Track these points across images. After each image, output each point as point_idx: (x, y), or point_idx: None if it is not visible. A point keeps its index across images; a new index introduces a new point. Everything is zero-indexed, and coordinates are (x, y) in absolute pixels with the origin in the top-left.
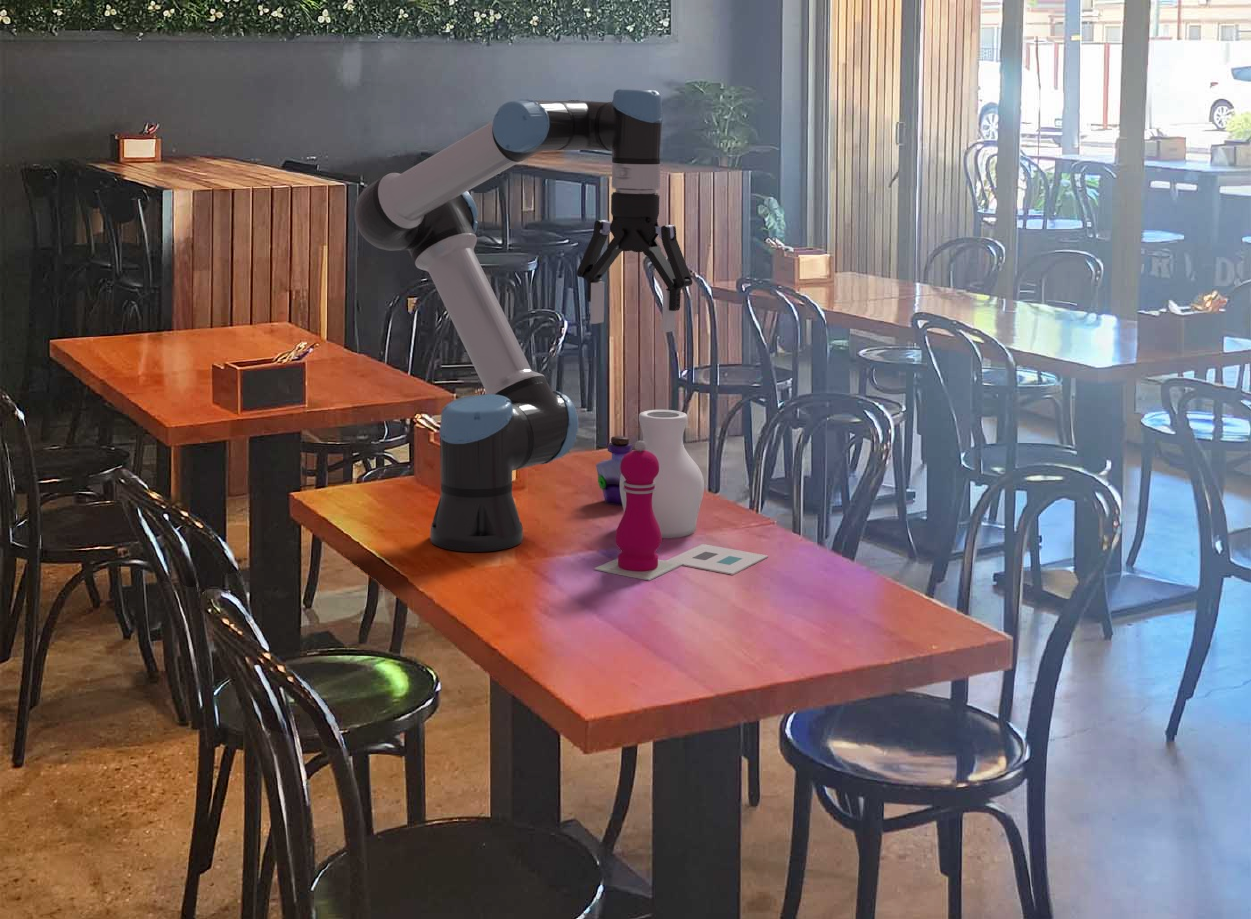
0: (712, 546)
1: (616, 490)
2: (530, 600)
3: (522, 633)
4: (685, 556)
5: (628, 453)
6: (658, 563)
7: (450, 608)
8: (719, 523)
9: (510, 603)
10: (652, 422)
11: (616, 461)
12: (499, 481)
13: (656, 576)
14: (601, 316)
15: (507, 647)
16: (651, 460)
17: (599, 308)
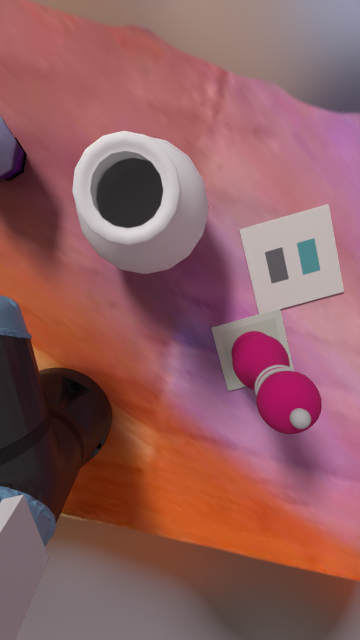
0: (254, 228)
1: (10, 172)
2: (259, 491)
3: (321, 544)
4: (262, 285)
5: (283, 426)
6: (261, 328)
7: (230, 550)
8: (178, 128)
9: (254, 508)
10: (147, 242)
11: None
12: (78, 458)
13: (291, 360)
14: (16, 534)
15: (337, 569)
16: (320, 408)
17: (2, 592)
